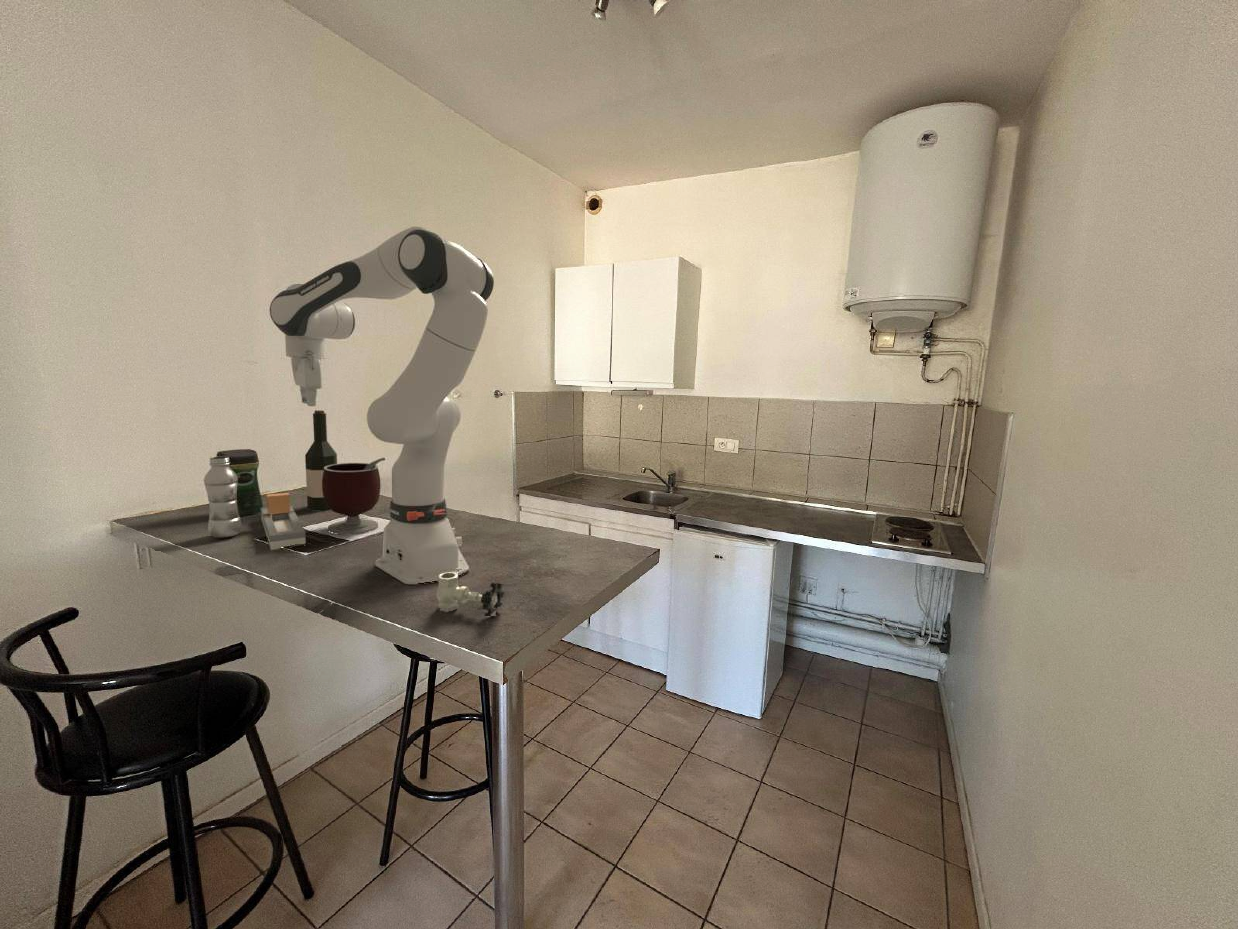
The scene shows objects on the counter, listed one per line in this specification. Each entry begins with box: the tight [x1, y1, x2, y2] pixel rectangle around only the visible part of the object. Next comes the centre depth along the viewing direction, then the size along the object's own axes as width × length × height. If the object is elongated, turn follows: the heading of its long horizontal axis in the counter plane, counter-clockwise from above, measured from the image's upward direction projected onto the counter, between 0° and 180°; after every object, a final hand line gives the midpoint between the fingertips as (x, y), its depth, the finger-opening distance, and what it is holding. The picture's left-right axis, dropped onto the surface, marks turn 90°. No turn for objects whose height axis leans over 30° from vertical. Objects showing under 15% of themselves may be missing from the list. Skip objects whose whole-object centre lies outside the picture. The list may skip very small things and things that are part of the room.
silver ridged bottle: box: [203, 456, 243, 539], centre depth 121 cm, size 6×7×20 cm
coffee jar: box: [215, 448, 264, 517], centre depth 140 cm, size 10×8×19 cm
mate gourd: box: [322, 457, 386, 535], centre depth 133 cm, size 16×14×20 cm
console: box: [260, 504, 307, 551], centre depth 128 cm, size 28×7×4 cm, turn 39°
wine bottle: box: [304, 409, 338, 512], centre depth 149 cm, size 8×8×30 cm
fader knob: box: [266, 492, 291, 521], centre depth 132 cm, size 3×5×7 cm, turn 129°
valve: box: [435, 572, 505, 617], centre depth 91 cm, size 7×7×12 cm
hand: (308, 404), depth 129 cm, fingers open, 8 cm apart
